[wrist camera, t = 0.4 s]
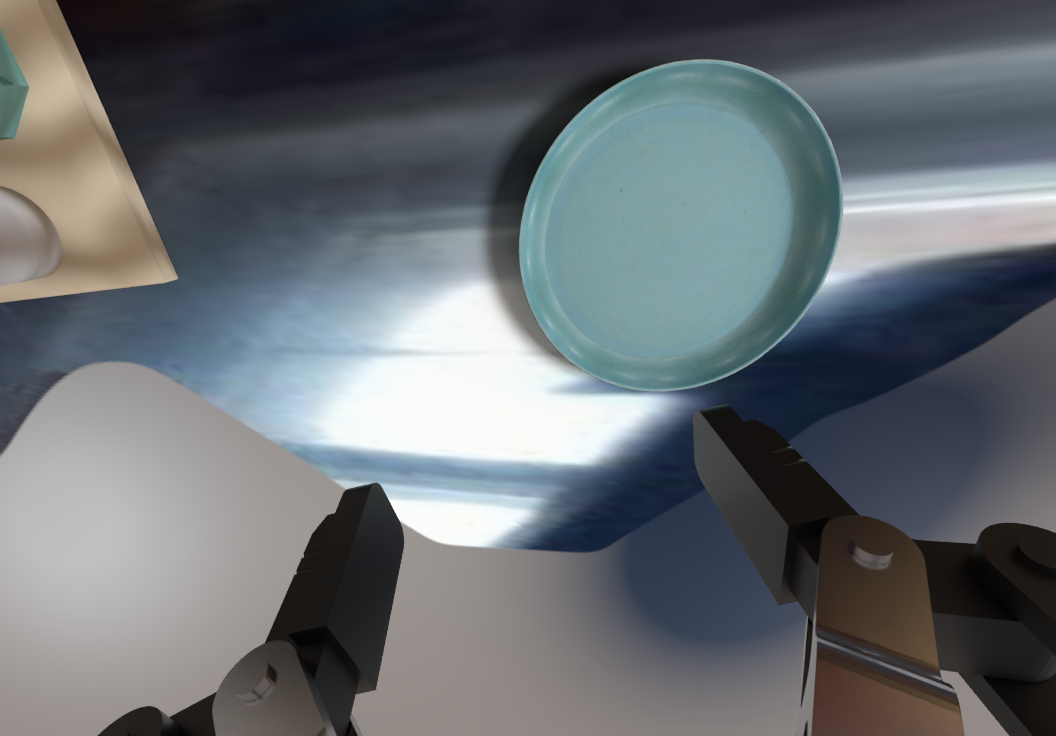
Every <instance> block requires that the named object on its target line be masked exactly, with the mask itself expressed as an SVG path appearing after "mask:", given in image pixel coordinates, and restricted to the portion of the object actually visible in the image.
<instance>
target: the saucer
mask: <svg viewBox="0 0 1056 736" xmlns="http://www.w3.org/2000/svg"><path fill="white" fill-rule="evenodd" d="M842 215H843V189H842V180H841V173H840V168H839V164H838V160H837V157H836V154H835V151H834V148H833V145H832V142H831V140H830V138H829V136H828V134H827V132H826V130H825V128H824V127H823V125H822V123H821V122H820V120H819V118H818V116H817V115H816V114H815V112H814V111H813V110H812V109H811V107H810V106H809V105H808V104H807V103H806V102H805V101H804V100H803V99H802V98H801V97H800V96H799V95H798V94H797V93H796V92H795V91H794V90H792V89H791V88H790V87H788V86H787V85H785V84H784V83H783V82H781V81H779V80H778V79H776V78H774V77H772V76H771V75H769V74H767V73H764V72H762V71H760V70H758V69H755V68H752V67H749V66H745V65H742V64H738V63H734V62H730V61H722V60H710V59H696V60H684V61H677V62H671V63H667V64H663V65H659V66H656V67H653V68H650V69H647V70H645V71H642V72H640V73H637V74H635V75H633V76H631V77H629V78H627V79H625V80H623V81H621V82H619V83H617V84H616V85H614V86H612V87H611V88H609V89H608V90H606V91H605V92H603V93H602V94H600V95H599V96H598V97H596V98H595V99H594V100H593V101H591V102H590V103H589V104H588V105H587V106H586V107H584V108H583V109H582V110H581V111H580V112H579V113H578V114H577V115H576V116H575V117H574V118H573V119H572V120H571V121H570V122H569V123H568V125H567V126H566V127H565V128H564V129H563V131H562V132H561V133H560V134H559V136H558V137H557V138H556V140H555V141H554V143H553V144H552V145H551V147H550V148H549V150H548V152H547V153H546V155H545V157H544V159H543V160H542V162H541V164H540V166H539V168H538V170H537V172H536V174H535V176H534V179H533V181H532V184H531V186H530V189H529V192H528V195H527V198H526V202H525V206H524V210H523V214H522V220H521V226H520V234H519V265H520V272H521V278H522V283H523V287H524V291H525V295H526V298H527V301H528V303H529V306H530V309H531V311H532V313H533V315H534V317H535V319H536V321H537V323H538V325H539V326H540V328H541V330H542V331H543V333H544V334H545V336H546V337H547V338H548V340H549V341H550V342H551V343H552V344H553V346H554V347H555V348H556V349H557V350H558V351H559V352H560V353H561V354H562V355H563V356H564V357H565V358H566V359H568V360H569V361H570V362H571V363H573V364H574V365H575V366H577V367H578V368H580V369H581V370H583V371H585V372H586V373H588V374H590V375H591V376H593V377H596V378H598V379H600V380H602V381H605V382H608V383H610V384H614V385H617V386H621V387H625V388H628V389H634V390H642V391H674V390H681V389H687V388H693V387H697V386H701V385H704V384H708V383H711V382H714V381H716V380H719V379H721V378H724V377H726V376H729V375H731V374H733V373H735V372H737V371H739V370H741V369H743V368H744V367H746V366H748V365H749V364H751V363H752V362H754V361H755V360H757V359H758V358H760V357H761V356H762V355H764V354H765V353H766V352H768V351H769V350H770V349H771V348H772V347H774V346H775V345H776V344H777V343H778V342H779V341H781V340H782V339H783V338H784V337H785V336H786V335H787V334H788V333H789V332H790V331H791V329H792V328H793V327H794V326H795V325H796V324H797V322H798V321H799V320H800V319H801V318H802V316H803V315H804V314H805V312H806V311H807V310H808V308H809V307H810V305H811V303H812V302H813V300H814V299H815V297H816V295H817V294H818V292H819V290H820V289H821V287H822V285H823V282H824V280H825V278H826V276H827V274H828V272H829V269H830V267H831V264H832V261H833V258H834V255H835V252H836V249H837V245H838V241H839V236H840V230H841V224H842Z"/></svg>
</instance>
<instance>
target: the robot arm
mask: <svg viewBox="0 0 1056 736" xmlns="http://www.w3.org/2000/svg"><path fill="white" fill-rule="evenodd" d="M693 427H694V457H695V464H696V468H697V471H698V474H699V477H700V479H701V481H702V483H703V485H704V486H705V488H706V489H707V491H708V492H709V494H710V496H711V497H712V499H713V500H714V502H715V504H716V505H717V507H718V508H719V510H720V512H721V513H722V515H723V516H724V518H725V520H726V521H727V523H728V524H729V526H730V528H731V529H732V531H733V532H734V534H735V536H736V537H737V539H738V540H739V542H740V543H741V545H742V547H743V548H744V550H745V552H746V553H747V554H748V556H749V558H750V560H751V561H752V563H753V564H754V566H755V568H756V569H757V571H758V572H759V574H760V576H761V577H762V579H763V580H764V582H765V583H766V585H767V587H768V588H769V590H770V591H771V593H772V594H773V596H774V598H775V599H776V601H777V602H778V604H779V605H782V604H787V603H792V602H796V601H798V602H799V604H800V605H801V607H802V608H803V610H804V611H805V613H806V614H807V622H806V631H805V643H804V654H803V666H802V678H801V690H800V701H799V712H798V722H797V730H796V736H964V728H963V722H962V716H961V710H960V705H959V701H958V698H957V695H956V692H955V691H954V688H953V687H952V686H951V685H950V684H948V683H945V682H943V680H942V678H941V675H940V670H945V671H953V672H958V673H959V674H960V676H961V677H962V678H963V679H964V680H965V682H966V683H967V684H968V685H969V687H970V688H971V689H972V690H973V691H974V693H975V694H976V695H977V696H978V698H979V699H980V700H981V701H982V702H983V704H984V705H985V706H986V707H987V709H988V710H989V711H990V712H991V714H992V715H993V716H994V717H995V719H996V720H997V721H998V722H999V723H1000V725H1001V726H1002V727H1003V728H1004V730H1005V731H1006V732H1007V733H1008V734H1009V736H1056V533H1054V532H1051V531H1049V530H1046V529H1042V528H1039V527H1035V526H1030V525H1025V524H1018V523H999V524H995V525H991V526H989V527H987V528H985V529H984V530H983V531H982V532H981V534H980V536H979V538H978V540H977V543H976V544H968V543H953V542H952V543H951V542H937V541H922V540H915V539H911V538H910V537H908V536H907V535H906V534H905V533H903V532H902V531H901V530H899V529H897V528H896V527H894V526H892V525H890V524H888V523H886V522H883V521H880V520H878V519H875V518H871V517H866V516H860V515H859V514H858V513H857V512H856V511H855V510H854V509H853V508H852V507H851V506H850V505H849V504H847V502H846V501H845V500H844V499H843V498H842V497H841V496H840V495H839V494H838V493H837V492H836V491H835V490H834V489H833V488H832V487H831V486H830V485H829V484H828V483H827V482H826V481H825V480H824V479H823V478H822V477H821V476H820V475H819V474H818V473H817V472H816V471H815V470H814V469H813V468H812V467H811V466H810V465H809V464H808V463H807V462H805V461H804V458H802V457H801V456H800V454H799V453H798V452H797V451H796V450H795V449H792V448H791V445H790V444H789V443H788V442H787V441H786V440H785V439H784V438H783V437H782V436H781V435H780V434H779V433H778V432H777V431H776V430H774V429H772V428H770V427H768V426H766V425H764V424H762V423H760V422H758V421H756V420H751V421H746V422H744V421H743V420H742V419H741V418H740V417H739V416H738V415H737V414H736V413H735V411H734V410H733V409H732V408H731V407H730V406H728V405H726V404H724V405H720V406H715V407H711V408H707V409H702V410H698V411H695V412H694V415H693ZM403 548H404V535H403V530H402V526H401V523H400V521H399V519H398V517H397V515H396V513H395V512H394V510H393V508H392V506H391V504H390V502H389V500H388V498H387V496H386V494H385V492H384V490H383V488H382V487H381V485H380V484H378V483H372V484H368V485H363V486H359V487H355V488H350V489H347V490H345V492H344V493H343V495H342V497H341V500H340V502H339V505H338V507H337V510H336V512H335V513H334V514H330V515H327V517H326V518H325V519H324V520H323V521H322V523H321V524H320V525H319V526H318V527H317V529H316V530H315V531H314V533H313V534H312V536H311V538H310V540H309V543H308V545H307V547H306V549H305V552H304V558H302V559H301V561H300V563H299V566H298V568H297V570H296V571H297V574H296V575H294V577H293V580H292V582H291V584H290V586H289V589H288V591H287V593H286V596H285V598H284V600H283V603H282V605H281V607H280V610H279V612H278V614H277V617H276V619H275V621H274V623H273V626H272V628H271V631H270V633H269V635H268V637H267V639H266V641H265V643H264V644H262V645H260V646H259V647H257V648H255V649H254V650H252V651H251V652H249V653H248V654H247V655H245V656H244V657H243V658H242V659H241V660H240V661H239V662H238V663H237V664H236V665H235V666H234V667H233V668H232V670H230V672H229V673H228V674H227V676H226V677H225V679H224V680H223V682H222V683H221V685H220V687H219V689H218V691H217V692H216V693H214V694H212V695H210V696H208V697H206V698H205V699H203V700H201V701H199V702H197V703H195V704H193V705H191V706H189V707H188V708H186V709H184V710H182V711H180V712H178V713H176V714H175V715H173V716H171V717H168V716H167V715H165V714H164V713H163V712H161V711H160V710H159V709H157V708H155V707H152V706H146V707H141V708H138V709H135V710H133V711H131V712H129V713H127V714H125V715H124V716H122V717H121V718H119V719H117V720H116V721H115V722H113V723H112V724H110V725H109V726H108V727H107V728H106V729H104V730H103V731H102V732H101V733H100V734H99V735H98V736H363V735H362V733H361V731H360V728H359V726H358V724H357V722H356V720H355V718H354V716H353V715H352V714H351V712H352V707H353V703H354V699H355V694H359V693H363V692H369V691H373V690H376V686H377V681H378V676H379V670H380V665H381V661H382V656H383V650H384V645H385V640H386V635H387V630H388V625H389V620H390V615H391V610H392V604H393V599H394V594H395V589H396V584H397V579H398V574H399V569H400V564H401V559H402V554H403Z"/></svg>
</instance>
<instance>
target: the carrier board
mask: <svg viewBox="0 0 1056 736" xmlns="http://www.w3.org/2000/svg"><path fill="white" fill-rule="evenodd" d="M176 279H178V276H177V274H176V272H175V270H174V267H173V265H172V263H171V261H170V258H169V256H168V254H167V251H166V249H165V247H164V245H163V242H162V240H161V238H160V236H159V233H158V231H157V229H156V226H155V224H154V222H153V220H152V217H151V215H150V213H149V211H148V208H147V206H146V204H145V201H144V199H143V197H142V195H141V192H140V190H139V188H138V186H137V183H136V181H135V179H134V176H133V174H132V172H131V170H130V167H129V165H128V163H127V161H126V158H125V156H124V154H123V151H122V149H121V147H120V145H119V142H118V140H117V138H116V136H115V133H114V131H113V129H112V126H111V124H110V122H109V120H108V117H107V115H106V113H105V111H104V108H103V106H102V104H101V101H100V99H99V97H98V95H97V92H96V90H95V88H94V85H93V83H92V81H91V79H90V76H89V74H88V72H87V70H86V67H85V65H84V63H83V60H82V58H81V56H80V54H79V51H78V49H77V47H76V45H75V42H74V40H73V38H72V35H71V33H70V31H69V29H68V26H67V24H66V22H65V20H64V17H63V15H62V13H61V10H60V8H59V6H58V4H57V1H56V0H0V303H1V302H10V301H18V300H26V299H34V298H43V297H51V296H59V295H68V294H76V293H84V292H92V291H101V290H109V289H117V288H126V287H134V286H142V285H151V284H159V283H166V282H169V281H173V280H176Z"/></svg>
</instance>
